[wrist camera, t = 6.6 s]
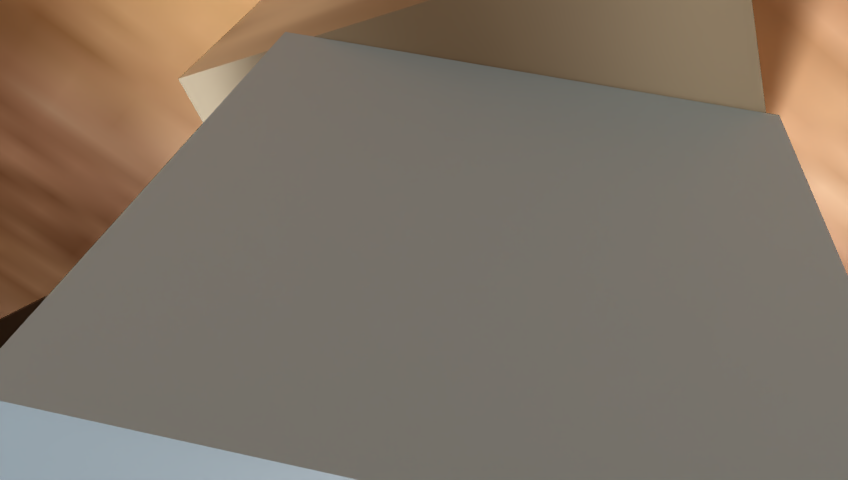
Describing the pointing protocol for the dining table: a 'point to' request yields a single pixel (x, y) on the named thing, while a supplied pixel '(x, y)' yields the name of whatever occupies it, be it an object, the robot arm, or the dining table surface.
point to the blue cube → (445, 291)
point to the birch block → (519, 42)
